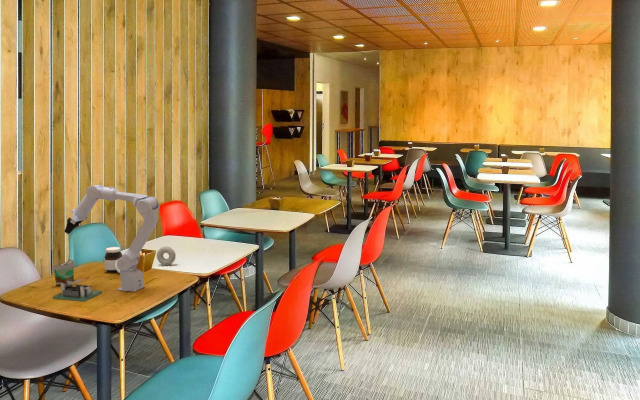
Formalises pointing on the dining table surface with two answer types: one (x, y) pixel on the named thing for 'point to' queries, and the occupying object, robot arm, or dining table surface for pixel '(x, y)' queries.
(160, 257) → the donut
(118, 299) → the dining table surface
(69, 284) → the grey and orange bar
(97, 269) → the dining table surface
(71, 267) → the food container
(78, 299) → the green base metal fixture
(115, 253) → the spread jar
